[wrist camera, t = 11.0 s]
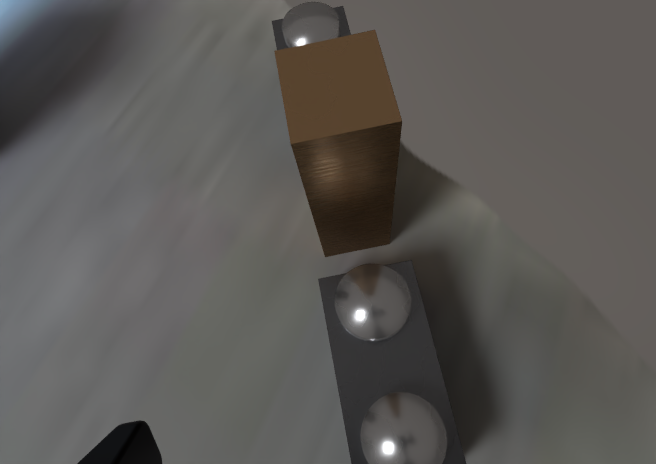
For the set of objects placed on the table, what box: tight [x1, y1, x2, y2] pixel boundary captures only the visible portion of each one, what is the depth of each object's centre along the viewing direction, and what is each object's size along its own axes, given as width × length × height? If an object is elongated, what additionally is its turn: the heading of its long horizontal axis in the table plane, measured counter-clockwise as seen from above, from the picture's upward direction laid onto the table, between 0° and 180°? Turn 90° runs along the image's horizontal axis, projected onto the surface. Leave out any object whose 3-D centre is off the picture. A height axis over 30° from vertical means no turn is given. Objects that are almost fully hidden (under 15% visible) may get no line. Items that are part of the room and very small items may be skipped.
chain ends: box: [272, 2, 466, 464], centre depth 21 cm, size 23×4×3 cm, turn 10°
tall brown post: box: [275, 30, 402, 257], centre depth 18 cm, size 4×3×10 cm
